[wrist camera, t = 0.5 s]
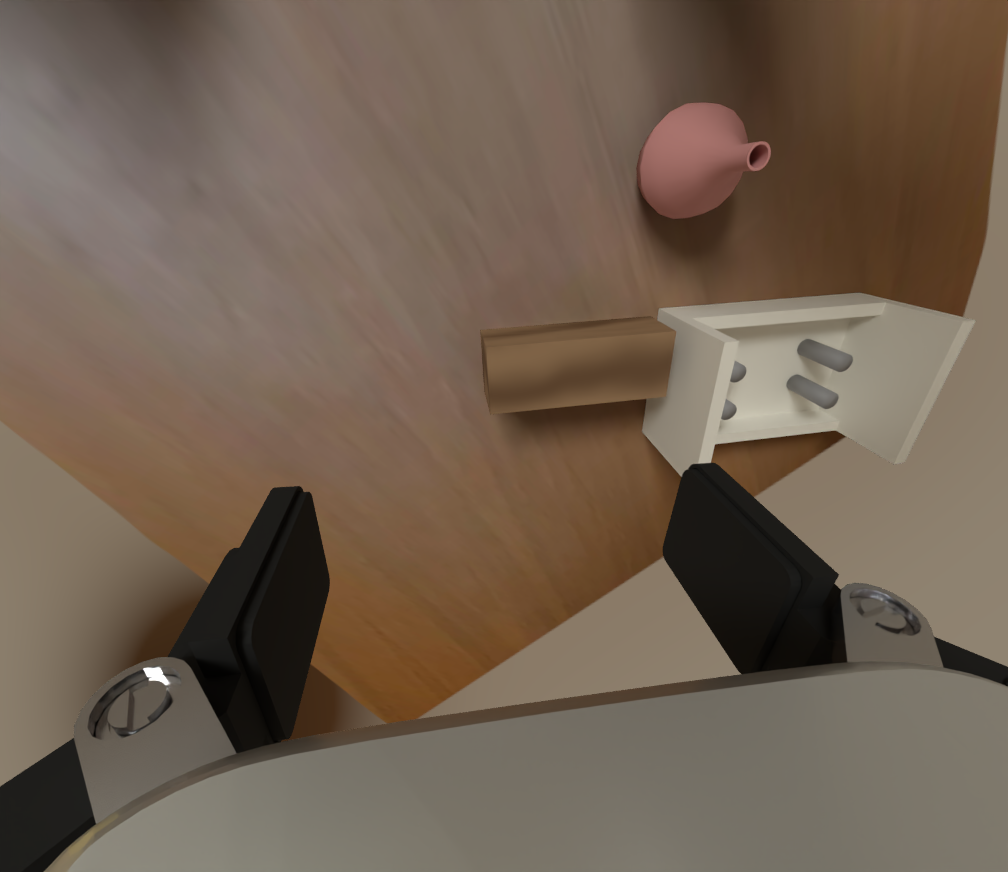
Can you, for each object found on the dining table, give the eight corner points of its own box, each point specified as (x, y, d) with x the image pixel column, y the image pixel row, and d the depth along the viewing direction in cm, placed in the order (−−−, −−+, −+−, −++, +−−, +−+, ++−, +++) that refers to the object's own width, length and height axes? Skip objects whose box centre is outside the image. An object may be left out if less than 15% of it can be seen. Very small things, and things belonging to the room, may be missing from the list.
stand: (658, 308, 43) (724, 342, 33) (859, 292, 45) (975, 320, 35) (642, 431, 50) (692, 489, 40) (816, 412, 52) (904, 463, 42)
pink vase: (702, 91, 35) (818, 49, 24) (717, 192, 38) (822, 192, 28) (612, 137, 35) (687, 115, 25) (635, 231, 39) (708, 246, 29)
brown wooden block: (480, 329, 39) (486, 347, 35) (650, 316, 40) (676, 331, 36) (484, 391, 42) (490, 414, 37) (642, 376, 43) (666, 396, 39)
